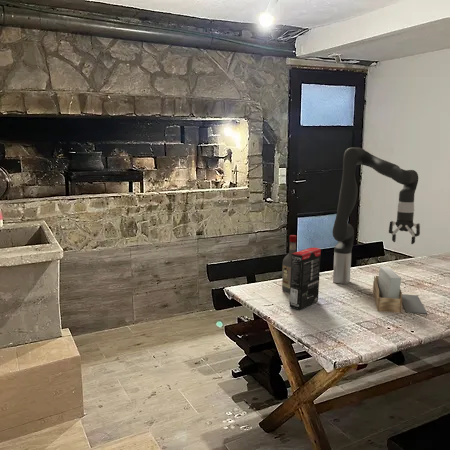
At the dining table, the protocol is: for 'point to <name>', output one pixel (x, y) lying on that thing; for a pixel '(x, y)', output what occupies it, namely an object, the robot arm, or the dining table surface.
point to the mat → (413, 304)
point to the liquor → (288, 265)
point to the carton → (386, 300)
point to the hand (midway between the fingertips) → (403, 242)
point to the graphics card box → (304, 278)
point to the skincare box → (388, 283)
